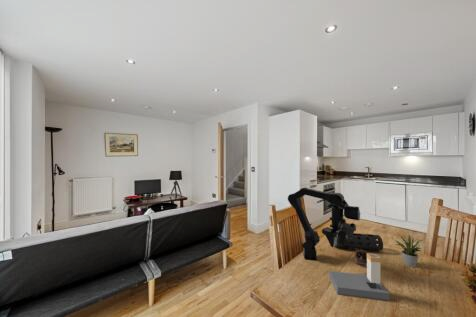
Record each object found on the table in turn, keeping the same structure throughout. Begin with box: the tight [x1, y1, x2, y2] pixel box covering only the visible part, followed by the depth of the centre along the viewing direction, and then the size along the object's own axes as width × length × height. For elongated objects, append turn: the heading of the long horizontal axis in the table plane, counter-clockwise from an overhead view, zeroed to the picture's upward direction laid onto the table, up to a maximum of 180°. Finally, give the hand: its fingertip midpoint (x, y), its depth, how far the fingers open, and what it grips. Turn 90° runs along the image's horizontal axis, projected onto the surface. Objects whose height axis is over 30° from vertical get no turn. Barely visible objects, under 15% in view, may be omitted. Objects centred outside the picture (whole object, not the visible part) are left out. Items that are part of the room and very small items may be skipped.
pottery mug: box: [353, 248, 369, 266], centre depth 106 cm, size 12×10×8 cm
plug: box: [366, 252, 382, 284], centre depth 82 cm, size 4×4×11 cm
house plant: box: [392, 234, 425, 268], centre depth 104 cm, size 14×14×16 cm
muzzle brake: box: [334, 232, 384, 252], centre depth 122 cm, size 10×28×10 cm, turn 78°
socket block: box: [328, 270, 390, 301], centre depth 85 cm, size 20×12×3 cm, turn 79°
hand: (337, 245), depth 101 cm, fingers open, 9 cm apart
